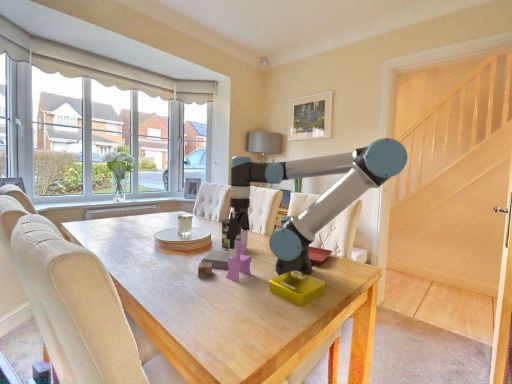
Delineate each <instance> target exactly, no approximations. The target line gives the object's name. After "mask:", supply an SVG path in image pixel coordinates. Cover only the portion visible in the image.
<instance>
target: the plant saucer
mask: <svg viewBox="0 0 512 384" xmlns="http://www.w3.org/2000/svg"><path fill="white" fill-rule="evenodd" d="M332 253H333V250H330V249H325V248H320V247H315V246H310V245H309V257H310V261H311V265H313V266H318V267H319V266H320V265H321V264H322V263H323V262H325V260H326V259H328V257H330V256H331V255H332Z"/></svg>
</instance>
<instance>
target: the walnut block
mask: <svg viewBox="0 0 512 384" xmlns="http://www.w3.org/2000/svg"><path fill="white" fill-rule="evenodd" d="M212 274H213V267H212V262H211V263H201V262H199V264H198V267H197V278H211V277H212Z"/></svg>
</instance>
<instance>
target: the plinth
mask: <svg viewBox="0 0 512 384" xmlns="http://www.w3.org/2000/svg"><path fill="white" fill-rule="evenodd" d="M228 258H229V251H228V250H218V249H217V250H216V249H214V250H212V251H211V252H210V253H208V254H206V256H205V257H202V259H201V260H200V261H201V262H200V263H211V262H212V268H214V269H215V268H216V269H224V270H229V267H228Z"/></svg>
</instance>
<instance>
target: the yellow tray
mask: <svg viewBox="0 0 512 384" xmlns="http://www.w3.org/2000/svg"><path fill="white" fill-rule="evenodd" d="M326 287H327V283H326V281H325V280H323V279H320V278H318V277H314V276H312V275H307V274H305V273H302V272H299V271H296V270H292V271H289V272H287V273H284V274H282V275H280V274H279V275H277V276H274V277H273V278H271V279H269V292H270V293H271V294H272V295H275V296H277V297H279V298H281V299H283V300H284V301H287V302H289V303H291V304H293V305H295V306H298V307H305V306H308V305H310V304H311V303H312V302H314V301H316V300H318V299H319V298H321V297H322V296H325V294H326Z"/></svg>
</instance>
